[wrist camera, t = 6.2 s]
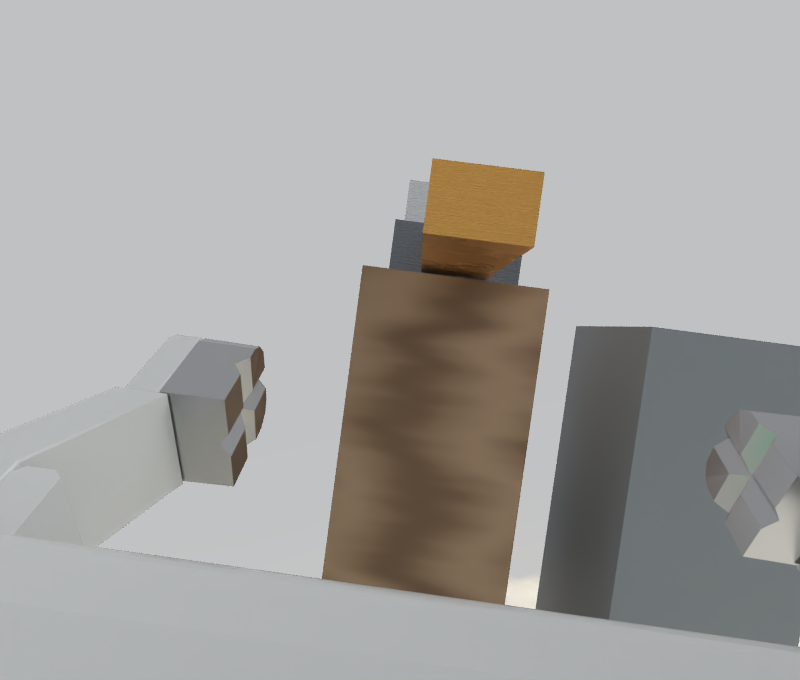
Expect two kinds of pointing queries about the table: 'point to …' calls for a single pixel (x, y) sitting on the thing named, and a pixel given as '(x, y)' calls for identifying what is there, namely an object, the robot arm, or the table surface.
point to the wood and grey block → (469, 222)
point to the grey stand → (662, 485)
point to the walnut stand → (434, 434)
